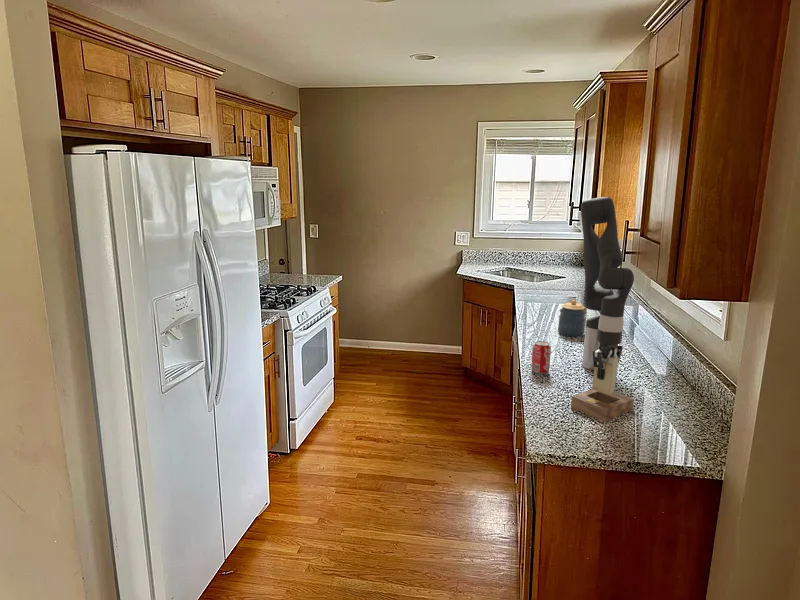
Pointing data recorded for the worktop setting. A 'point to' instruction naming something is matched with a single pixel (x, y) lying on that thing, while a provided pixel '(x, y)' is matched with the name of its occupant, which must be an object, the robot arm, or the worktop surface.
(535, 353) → the soda can
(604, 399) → the brown square frame block
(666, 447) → the worktop surface
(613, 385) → the skincare box
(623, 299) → the robot arm
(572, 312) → the canister
